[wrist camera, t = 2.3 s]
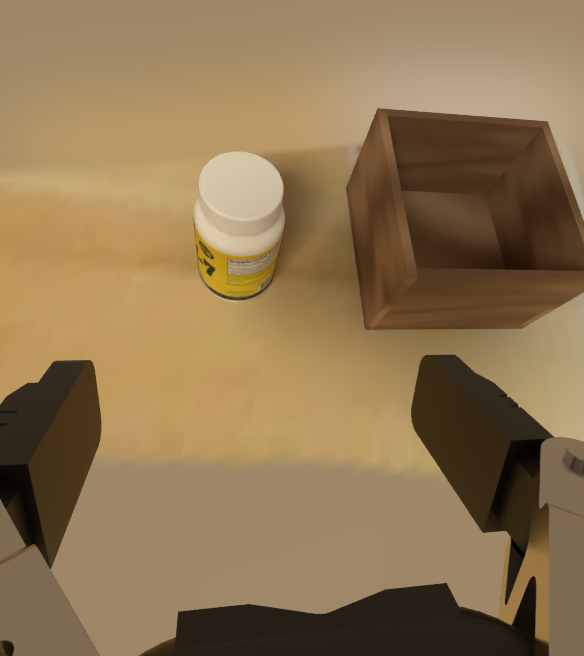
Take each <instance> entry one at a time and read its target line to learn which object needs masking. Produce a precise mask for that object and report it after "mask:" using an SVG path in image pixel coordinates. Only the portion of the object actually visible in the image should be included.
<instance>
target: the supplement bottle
mask: <svg viewBox="0 0 584 656" xmlns="http://www.w3.org/2000/svg"><path fill="white" fill-rule="evenodd" d="M283 194H284V185H283V181H282V178H281V176H280V174H279V172H278V170H277V169H276V168H275V167H274V166H273V165H272V164H271V163H270V162H269V161H267V160H266V159H264V158H262V157H260V156H258V155H256V154H253V153H249V152H242V151H241V152H240V151H235V152H226V153H223V154H220V155H218V156H216V157H214V158H213V159H211V160H210V161H209V162H208V163H207V164H206V165H205V166H204V168H203V169H202V171H201V174H200V177H199V192H198V197H197V199H196V202H195V206H194V214H193V217H194V227H195V238H196V248H197V258H198V269H199V274H200V277H201V280H202V282H203V284H204V285H205V287H206V288H207V289H208V290H209V291H210V292H211V293H212V294H213V295H214V296H216V297H218V298H220V299H222V300H225V301H228V302H237V303H238V302H246V301H250V300H253V299H255V298H257V297H258V296H260V295H261V294H263V293H264V292H265V291H266V290H267V288H268V287H269V285H270V283H271V281H272V278H273V275H274V270H275V266H276V262H277V258H278V253H279V249H280V244H281V240H282V236H283V231H284V226H285V212H284V208H283V205H282V201H283Z"/></svg>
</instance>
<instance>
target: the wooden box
mask: <svg viewBox="0 0 584 656" xmlns="http://www.w3.org/2000/svg"><path fill="white" fill-rule="evenodd" d="M346 191H347V198H348V206H349V213H350V220H351V228H352V235H353V243H354V250H355V257H356V265H357V272H358V279H359V287H360V294H361V302H362V309H363V316H364V324H365V330H379V329H512V328H524V327H525V326H527V325H529V324H530V323H532V322H534V321H535V320H537V319H539V318H541V317H542V316H544V315H546V314H547V313H549V312H551V311H552V310H554V309H556V308H558V307H559V306H561V305H563V304H564V303H566V302H568V301H569V300H571V299H573V298H575V297H576V296H578V295H580V294H581V293H583V292H584V221H583V218H582V215H581V213H580V210H579V207H578V204H577V201H576V199H575V196H574V193H573V190H572V188H571V185H570V182H569V179H568V177H567V174H566V171H565V168H564V166H563V163H562V160H561V157H560V155H559V152H558V149H557V146H556V144H555V141H554V138H553V135H552V133H551V130H550V127H549V124H548V122H547V121H534V120H519V119H507V118H495V117H482V116H469V115H456V114H443V113H431V112H417V111H404V110H392V109H379V108H378V109H377V111H376V114H375V116H374V119H373V121H372V124H371V126H370V129H369V132H368V134H367V137H366V139H365V142H364V144H363V147H362V149H361V152H360V154H359V157H358V159H357V162H356V164H355V167H354V170H353V172H352V175H351V177H350V180H349V182H348V185H347V187H346Z"/></svg>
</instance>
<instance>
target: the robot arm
mask: <svg viewBox="0 0 584 656" xmlns="http://www.w3.org/2000/svg"><path fill="white" fill-rule="evenodd" d="M411 418H412V423H413V427H414V429H415V431H416V433H417V435H418V436H419V438H420V439H421V441H422V442H423V444H424V445H425V447H426V448H427V450H428V451H429V453H430V454H431V456H432V457H433V459H434V460H435V462H436V463H437V465H438V466H439V468H440V469H441V471H442V472H443V474H444V475H445V477H446V478H447V480H448V481H449V483H450V484H451V486H452V487H453V489H454V490H455V492H456V493H457V495H458V496H459V497H460V499H461V501H462V502H463V504H464V505H465V507H466V508H467V509H468V511H469V513H470V514H471V516H472V517H473V519H474V520H475V522H476V523H477V525H478V526H479V528H480V529H481V531H482V532H483V533H486V532H497V531H507V532H508V534H509V535H510V538H509V541H508V544H507V547H506V551H505V560H504V569H503V579H502V587H501V596H500V605H499V614H498V618H495V617H492V616H490V615H487V614H484V613H482V612H479V611H475V610H472V609H468V608H464V607H459V606H458V604H457V602H456V601H455V599H454V597H453V595H452V593H451V591H450V589H449V587H448V585H447V583H443V584H434V585H424V586H415V587H405V588H397V589H386V590H383V591H381V592H378V593H376V594H374V595H371V596H369V597H366V598H364V599H362V600H359V601H357V602H354V603H351V604H349V605H347V606H344V607H342V608H339V609H337V610H334V611H332V612H329V613H326V614H312V613H305V612H299V611H292V610H285V609H279V608H272V607H265V606H258V605H252V604H251V605H250V604H246V605H237V606H227V607H218V608H209V609H199V610H190V611H180V612H178V619H177V631H176V637H175V638H173V639H170V640H168V641H165V642H163V643H161V644H159V645H157V646H155V647H153V648H151V649H149V650H147V651H145V652H144V653H143V654H141V655H139V656H584V442H582V441H579V440H575V439H571V438H564V437H553V436H552V435H551V434H550V433H549V432H548V431H547V430H546V429H545V428H543V427H542V426H541V425H540V424H539V423H538V422H537V421H536V420H535V419H533V418H532V417H531V416H530V415H529V414H528V413H527V412H526V411H525V410H523V409H522V408H521V407H518V404H517V403H516V402H515V401H513V400H512V399H511V398H510V397H507V394H506V393H505V392H504V391H502V390H501V389H500V388H499V387H498V386H497V385H496V384H495V383H493V382H491V381H489V380H488V379H486V378H484V377H482V376H480V375H478V374H476V373H475V372H473V371H472V370H471V369H470V368H469V367H468V366H467V365H466V364H465V363H464V362H463V361H462V360H461V359H459V358H458V357H457V356H456V355H426V356H424V357H423V358H422V360H421V362H420V366H419V371H418V376H417V381H416V387H415V392H414V397H413V402H412V408H411ZM100 437H101V413H100V406H99V398H98V390H97V383H96V375H95V369H94V365H93V363H92V361H91V360H71V361H54V362H53V363H52V364H51V366H50V367H49V368H48V370H47V371H46V373H45V374H44V375H43V377H42V378H41V379H40V381H39V382H38V383H27V384H25V385H24V386H22V387H21V388H19V389H18V390H16V391H14V392H13V393H11V394H10V395H8V396H7V397H6V398H5V399H4V401H3V402H2V403H1V404H0V656H100V655H99V653H98V651H97V650H96V648H95V646H94V644H93V643H92V641H91V639H90V637H89V636H88V634H87V632H86V630H85V629H84V627H83V625H82V624H81V622H80V620H79V618H78V617H77V615H76V613H75V611H74V610H73V608H72V606H71V605H70V603H69V601H68V599H67V598H66V596H65V594H64V592H63V591H62V589H61V587H60V585H59V584H58V582H57V580H56V579H55V577H54V575H53V573H52V572H51V570H50V569H51V567H52V565H53V562H54V560H55V557H56V554H57V552H58V549H59V547H60V544H61V542H62V539H63V536H64V534H65V531H66V528H67V526H68V523H69V521H70V518H71V516H72V513H73V510H74V508H75V505H76V503H77V500H78V498H79V495H80V492H81V489H82V487H83V485H84V482H85V479H86V477H87V474H88V472H89V469H90V466H91V464H92V461H93V459H94V456H95V453H96V451H97V448H98V446H99V442H100Z"/></svg>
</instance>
